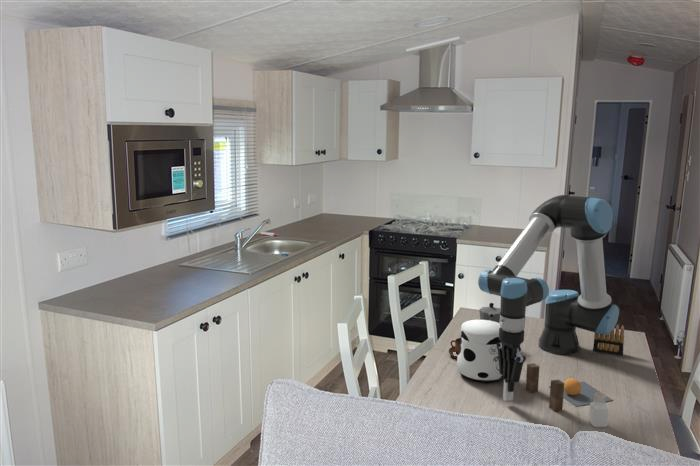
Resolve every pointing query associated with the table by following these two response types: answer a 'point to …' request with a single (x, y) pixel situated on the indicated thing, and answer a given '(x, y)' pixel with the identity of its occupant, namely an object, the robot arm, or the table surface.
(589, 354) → the table surface
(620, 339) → the ammunition clip
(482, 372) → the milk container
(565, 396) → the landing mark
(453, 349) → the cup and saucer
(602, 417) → the pepper shaker
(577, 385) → the ball
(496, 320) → the coffeepot
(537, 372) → the post
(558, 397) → the post
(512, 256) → the robot arm
